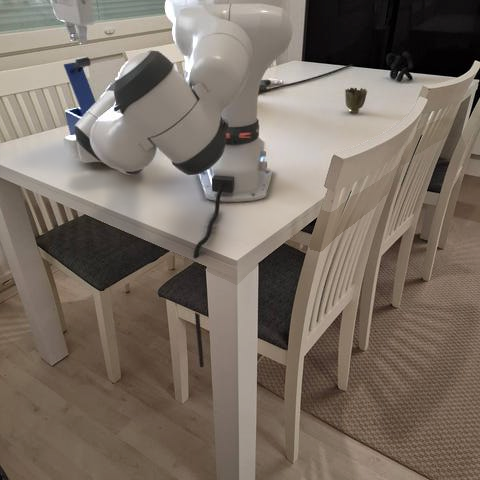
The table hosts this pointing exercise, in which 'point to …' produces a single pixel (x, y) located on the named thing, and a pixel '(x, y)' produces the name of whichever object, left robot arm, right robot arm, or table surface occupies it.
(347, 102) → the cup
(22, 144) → the table surface
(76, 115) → the chest
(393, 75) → the squiggle
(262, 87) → the spray bottle
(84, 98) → the lid
